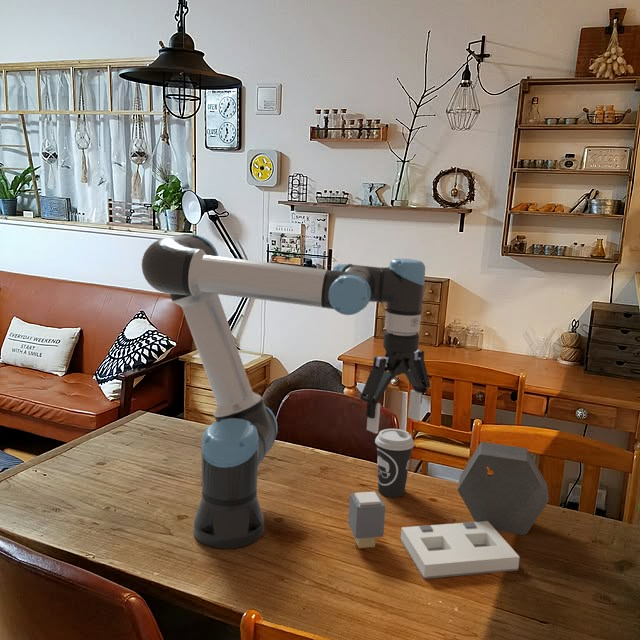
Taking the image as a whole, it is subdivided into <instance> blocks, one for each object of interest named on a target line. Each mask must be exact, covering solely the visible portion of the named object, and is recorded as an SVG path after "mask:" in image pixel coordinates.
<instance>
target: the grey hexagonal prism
mask: <svg viewBox="0 0 640 640" xmlns="http://www.w3.org/2000/svg"><path fill="white" fill-rule="evenodd" d="M489 471H490V472H493V473H492V474H489V473H488V472H489ZM457 485H458V487H457V492H458V494H459V496H460V497H461V499H462V501H463V503H464V504H465V507H466V508H467V510H468V511H469V513H470V515H471V517H472V518H473V520H474V522H482V521H488V522H489V523H490V524H491V525H492V526H493V527H494V529H495V530H496V531H497V532H501V533H502V532H503V533H509V534H514V535H520V536H526V535H527V534H528V533H529V531H530V530H531V528H532V527H533V525H534V524H535V522H536V521H537V519H538V517H539V516H540V515H541V513H542V512H543V511H544V509H545V507H546V506H547V504H549V503H548V502H549V501H550V496H549V490H548V489H549V488H548V483H547V482H546V479H545V478H544V476H543V475H542V473H541V471H540V469H539V467H538V466H537V464H536V462H535V460H534V459H533V457H532V456H531V454H530V451H529V450H528V448H526V447H520V446H514V445H506V444H499V443H493V442H492V443H491V442H487V441H486V442H485V441H481V442H480V443H479V444H478V446H477V447H476V449H475V450H474V452H473V454H472V455H471V457H470V459H469V461H468V462H467V464H466V465H465V466H464V469H463V470H462V472H461V474H460V475H459V481H458V484H457Z"/></svg>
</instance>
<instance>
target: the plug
mask: <svg viewBox="0 0 640 640" xmlns="http://www.w3.org/2000/svg"><path fill="white" fill-rule="evenodd" d="M385 515H386V505H385V503H384V501H383V499H382V498H381V496H380V495H379V492H377V491H361V492H354V493H349V508H348V522H347V523H348V526H349V528H350V531H351V532H352V535H353V537H354V541H355V543H356V545H357V547H358V549H364V548H365V549H366V548H375V547H376V540H377V539H376V538H384V534H385V533H384V531H385V530H384V529H385Z"/></svg>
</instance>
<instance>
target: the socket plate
mask: <svg viewBox="0 0 640 640" xmlns="http://www.w3.org/2000/svg"><path fill="white" fill-rule="evenodd" d="M400 542H401V543H402V545H403V546H404V549H405V551H407V553H408V555H409V557H410V558H411V559H412V562H413V564H414V565H415V566H416V568H417V570H418V571H419V573H420V575H421V576H422V579H423V580H426V579H437V578H449V577H457V576H458V577H459V576H470V575H472V576H473V575H481V574H492V573H493V574H494V573H503V572H514V571H515V572H516V571H519V565H520V556H519V554H518V553H517V552H516V551H515V550H514V549H513V548H512V547H511V545H510V544H509V543H508V542H507V541H506V540H505V539H504V537H503V536H502V535H501V534H500V533H499V531H496V530H495V529H494V527H493V526H492V525H491V524H490V523H489V522H488V521H482V522H475V521H471V522H458V523H457V522H456V523H455V522H454V523H444V524H441V523H440V524H431V525H430V524H429V525H416V526H415V525H414V526H402V527H401V529H400Z"/></svg>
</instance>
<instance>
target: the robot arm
mask: <svg viewBox="0 0 640 640" xmlns="http://www.w3.org/2000/svg"><path fill="white" fill-rule="evenodd" d="M218 253H219V252H218V251H217V249H216V247H215V245H214V244H213V242H211V241H210V240H208V239H207V238H205V236H201V235H199V234H191V233H183V234H180V235H176V236H172V237H170V236H169V237H163V238H160V239H157V240H156V241H154V242H153V243H151V244H150V245H149V246H148V248H147V249H146V250H145V252H144V253H143V256H142V259H141V270H142V274H143V277H144V279H145V280H146V282H147V283H148V284H149V285H150V286H151V288H153V289H155V290H156V291H158V292H160V293H164V294H169V296H170V299H171V301H172V303H174V304H176V305H178V306H180V307H181V309H182V311H183V314H184V318H185V320H186V323H187V326H188V328H189V330H190V331H189V332H190V333H191V336H192V339H193V342H194V344H195V347H196V350H197V353H198V356H199V358H200V361H201V365H202V366H203V368H204V369H203V370H204V372H205V374H206V378H207V379H208V382H209V386H210V389H211V391H212V394H213V397H214V400H215V402H216V408H215V410H214V412H213V417H214V419H215V422H213V423H211V424H209V425H208V426H207V428H206V429H205V430H204V432H203V434H202V440H201V441H202V442H201V447H200V449H201V499H200V501H199V506H198V508H197V510H196V514H195V517H194V520H193V535H194V537H195V539H196V540H197V541H199V542H200V544H203V545H205V546H208V547H211V548H215V549H223V550H224V549H227V550H228V549H229V550H231V549H236V548H243V547H246V546H249V545H251V544H253V543H255V542H257V541H258V540H260V538H261V537H262V536H263V535H264V532H265V517H264V514H263V512H262V509H261V505H260V501H259V499H258V490H257V489H258V469H259V466H260V465H261V463H262V461H263V460H264V458H265V457H266V455H267V454H268V452H269V451H271V448H272V447H273V446H274V444H275V441H276V438H277V434H278V422H277V418H276V416H275V414H274V413H273V411H272V410H271V409H270V408H269V407H267V406H266V405H265V403H264V400H263V397H262V396H261V395H260V394H258V393H256V392H254V391H253V389H252V387H251V384H250V381H249V378H248V375H247V372H246V368H245V367H244V364H243V360H242V359H241V355H240V352H239V350H238V348H237V347H238V346H237V345H236V342H235V339H234V336H233V333H232V329H231V327H230V324H229V322H228V320H227V316H226V313H225V310H224V307H223V304H222V301H221V298H220V295H222V296H228V297H229V296H230V297H237V298H238V297H239V298H246V299H255V300H262V301H269V302H275V303H276V302H278V303H283V304H284V303H285V304H294V305H300V306H308V307H317V308H322V309H323V308H324V309H328V310H335V311H336V312H337V313H339V314H341V315H345V316H351V315H356V314H358V313H360V312H361V311H363V310H364V309H366V307H367V306H368V304H369V302H372V303H380V304H382V303H383V304H384V303H385V304H386V308H385V316H384V317H385V318H384V329H385V331H384V332H383V343H382V347H383V349H384V350H385V354H384V356H378V355H375V356H374V358H373V363H372V364H373V365H372V366H371V370H370V372H369V374H368V377H367V379H366V382H365V385H364V387H363V390H362V392H361V394H360V397H359V399H360V401H363V402H365V403H366V404H367V405H366V417H367V418H366V419H367V420H366V431H369V432H371V433H373V434H375V435H376V434H379V426H380V416H381V415H380V413H381V412H380V411H381V403H380V402H379V401H380V400H381V398H382V396H383V394H385V392H386V391H387V388H388V387H389V384H390V383H391V381H392V380H394V379H395V378H396V377H397V376H399V375H403V374H404V375H405V377H406V378H407V381H408V382H409V384H410V385H411V387H412V388H413V389H410V391H409V400H408V411H407V413H408V414H407V418H409V419H411V420H414V421H416V422H418V421H420V416H421V415H420V414H421V406H422V403H423V393H424V394H427V392H428V389H429V388H430V386H431V382H430V379H429V375H428V371H427V367H426V363H425V351H424V350H421V349H419V345H420V344H419V342H420V334H419V332H420V330H421V319H422V310H423V302H424V292H425V284H426V283H425V282H426V281H425V279H426V278H425V277H426V265H425V264H424V262H422V261H421V260H418V259H412V258H393V259H391V261H390V263H389V266H388V267H387V266H386V267H378V266H369V265H359V264H358V265H357V264H353V263H347V264H341V263H339V264H335V265H334V267H333V269H332V270H331V269H330V270H328V269H323V268H316V267H308V266H299V265H291V264H282V263H276V262H275V263H274V262H265V261H258V260H250V259H241V258H233V257H225V256H219V254H218Z"/></svg>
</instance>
